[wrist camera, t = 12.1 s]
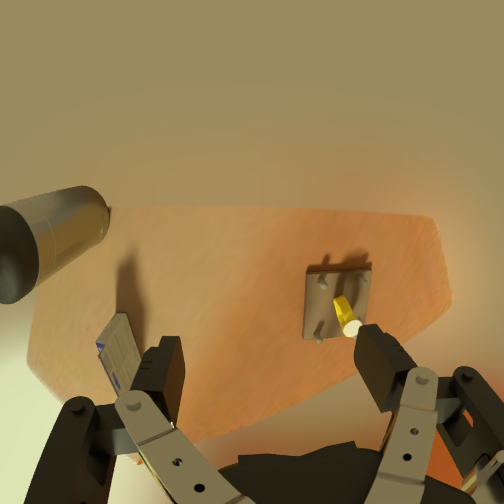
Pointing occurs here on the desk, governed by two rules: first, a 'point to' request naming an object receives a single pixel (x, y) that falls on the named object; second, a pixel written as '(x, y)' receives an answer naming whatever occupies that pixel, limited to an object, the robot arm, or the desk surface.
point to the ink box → (119, 353)
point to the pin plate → (322, 296)
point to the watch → (346, 317)
